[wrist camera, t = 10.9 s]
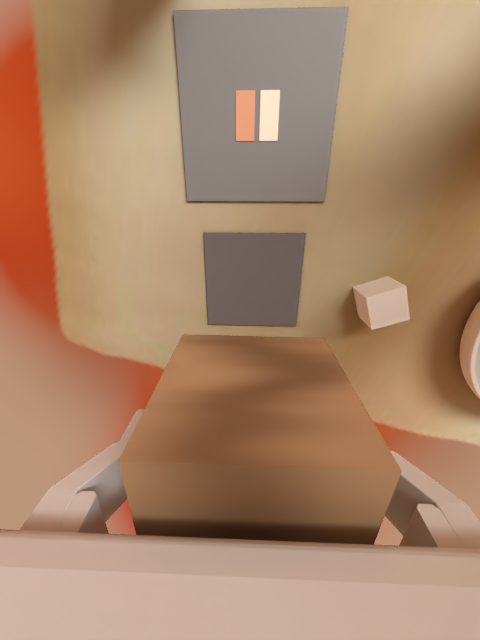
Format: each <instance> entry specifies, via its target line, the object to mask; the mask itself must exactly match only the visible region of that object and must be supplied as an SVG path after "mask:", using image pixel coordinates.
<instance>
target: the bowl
mask: <svg viewBox="0 0 480 640" xmlns="http://www.w3.org/2000/svg"><path fill="white" fill-rule="evenodd" d="M459 356H460V365H461V369H462V373H463V376H464V378H465V380H466V382H467V384H468V385H469V387H470V388H471V390H472V391H473V392H474V394H475V395H476V396H477V397H478V398H479V399H480V301H479V302H478V304H477V305H476V307H475V308H474V310H473V311H472V313H471V315H470V317H469V319H468V321H467V323H466V325H465V328H464V331H463V334H462V337H461V342H460V353H459Z"/></svg>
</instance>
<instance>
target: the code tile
mask: <svg viewBox="0 0 480 640" xmlns="http://www.w3.org/2000/svg"><path fill="white" fill-rule="evenodd" d="M348 9H349V7H308V8H264V9H220V10H176V11H173V13H174V26H175V40H176V54H177V68H178V82H179V96H180V110H181V124H182V137H183V151H184V165H185V179H186V193H187V201H319V202H324V201H325V193H326V185H327V177H328V169H329V161H330V153H331V145H332V137H333V129H334V121H335V113H336V105H337V97H338V89H339V81H340V73H341V65H342V57H343V49H344V41H345V33H346V25H347V17H348Z"/></svg>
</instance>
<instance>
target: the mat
mask: <svg viewBox="0 0 480 640" xmlns="http://www.w3.org/2000/svg"><path fill="white" fill-rule="evenodd" d="M305 235H306V234H305V233H204V249H205V269H206V288H207V308H208V324H211V325H258V326H296V323H297V313H298V303H299V294H300V284H301V274H302V264H303V255H304V245H305Z"/></svg>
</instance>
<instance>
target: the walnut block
mask: <svg viewBox="0 0 480 640" xmlns="http://www.w3.org/2000/svg"><path fill="white" fill-rule="evenodd" d="M118 463H119V467H120V471H121V475H122V479H123V483H124V487H125V491H126V495H127V499H128V502H129V507H130V510H131V515H132V518H133V523H134V526H135V531H136V535H149V536H173V537H197V538H222V539H246V540H270V541H295V542H319V543H344V544H368V545H374V542H375V539H376V537H377V534H378V532H379V529H380V526H381V524H382V521H383V519H384V516H385V514H386V511H387V508H388V506H389V503H390V501H391V498H392V495H393V493H394V490H395V488H396V485H397V482H398V480H399V477H400V475H401V472H402V470H401V469H400V467H399V465H398V464H397V462H396V460H395V458H394V457H393V455H392V453H391V452H390V450H389V448H388V446H387V445H386V443H385V441H384V440H383V438H382V436H381V434H380V433H379V431H378V429H377V428H376V426H375V424H374V422H373V421H372V419H371V417H370V416H369V414H368V412H367V410H366V409H365V407H364V405H363V404H362V402H361V400H360V398H359V397H358V395H357V393H356V392H355V390H354V388H353V386H352V385H351V383H350V381H349V380H348V378H347V376H346V374H345V373H344V371H343V369H342V368H341V366H340V364H339V363H338V361H337V359H336V357H335V356H334V354H333V352H332V351H331V349H330V347H329V345H328V344H327V342H326V340H325V339H324V338H299V337H258V336H218V335H182V337H181V339H180V341H179V343H178V345H177V347H176V349H175V351H174V353H173V355H172V357H171V359H170V361H169V363H168V364H167V366H166V368H165V370H164V372H163V374H162V376H161V378H160V380H159V382H158V384H157V386H156V388H155V390H154V392H153V394H152V396H151V398H150V400H149V402H148V404H147V406H146V408H145V409H144V411H143V413H142V415H141V417H140V419H139V421H138V423H137V425H136V427H135V429H134V431H133V433H132V435H131V437H130V439H129V441H128V443H127V445H126V447H125V449H124V451H123V452H122V454H121V456H120V458H119V460H118Z"/></svg>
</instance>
